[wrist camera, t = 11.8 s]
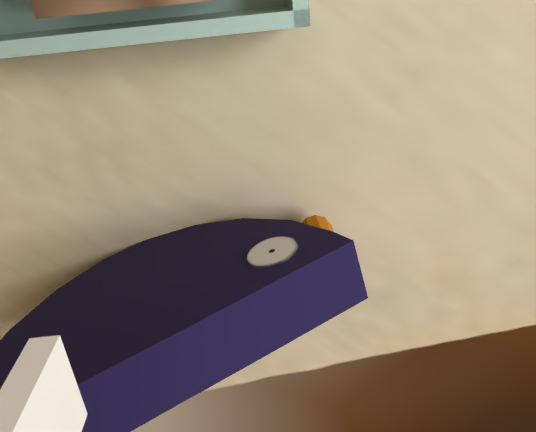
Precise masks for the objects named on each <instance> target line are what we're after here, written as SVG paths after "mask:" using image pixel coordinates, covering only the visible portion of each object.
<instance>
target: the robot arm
mask: <svg viewBox="0 0 536 432" xmlns="http://www.w3.org/2000/svg"><path fill="white" fill-rule="evenodd" d="M86 417H87V411H86V408H85V405H84V402H83V399H82V397H81V394H80V391H79V388H78V385H77V382H76V380H75V377H74V374H73V371H72V368H71V365H70V363H69V360H68V357H67V354H66V351H65V348H64V345H63V343H62V340H61V337H60V335H56V336H47V337H38V338H29V340H28V342H27V343H26V345H25V347H24V349H23V350H22V352H21V354H20V356H19V358H18V359H17V361H16V363H15V365H14V366H13V368H12V370H11V372H10V373H9V375H8V377H7V379H6V380H5V382H4V384H3V386H2V387H1V389H0V432H82V429H83V426H84V423H85V420H86Z"/></svg>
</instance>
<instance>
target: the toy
mask: <svg viewBox="0 0 536 432" xmlns="http://www.w3.org/2000/svg"><path fill="white" fill-rule="evenodd" d="M367 298H368V296H367V292H366V288H365V284H364V281H363V277H362V273H361V269H360V265H359V261H358V257H357V253H356V249H355V246H354V242H353V240H351V239H348V238H346V237H344V236H341V235H339V234H337V233H334V231H333V229H332V226H331V224H330V223H329V222H328V221H327V219H326V218H325V217H321V216H317V215H314V216H311V217H308V218H306V219H305V220H304V221H303V223H299V222H295V221H291V220H272V219H246V218H242V219H235V220H229V221H222V222H215V223H208V224H201V225H194V226H191V227H188V228H184V229H181V230H178V231H174V232H171V233H168V234H164V235H161V236H158V237H154V238H151V239H148V240H146V241H143V242H141V243H139V244H137V245H135V246H133V247H130V248H128V249H126V250H124V251H122V252H120V253H118V254H115V255H113V256H111V257H109V258H107V259H105V260H102V261H101V262H99V263H98V264H96V265H95V266H93V267H92V268H90V269H89V270H87V271H85V272H84V273H82V274H81V275H79V276H78V277H76V278H75V279H73V280H71V281H70V282H68V283H67V284H65V285H64V286H62V287H61V288H59V289H57V290H56V291H55V292H54V293H52V294H51V295H50V296H49V297H48V298H46V299H45V300H44V301H43V302H42V303H41V304H39V305H38V306H37V307H36V308H35V309H34V310H32V311H31V312H30V313H29V314H28V315H26V316H25V317H24V318H23V319H22V320H21V321H19V322H18V323H17V324H16V325H15V326H14V327H12V328H11V329H10V330H9V331H8V332H7V333H6V335H5V336H4V337H3V338H2V339H1V340H0V389H1V387H2V386H3V384H4V382H5V380H6V379H7V377H8V375H9V373H10V372H11V370H12V368H13V366H14V365H15V363H16V361H17V359H18V358H19V356H20V354H21V352H22V350H23V349H24V347H25V345H26V343H27V342H28V340H29V338H38V337H47V336H56V335H60V337H61V340H62V343H63V345H64V348H65V351H66V354H67V357H68V360H69V363H70V365H71V368H72V371H73V374H74V377H75V380H76V382H77V385H78V388H79V391H80V394H81V397H82V399H83V402H84V405H85V408H86V411H87V417H86V420H85V423H84V426H83V429H82V432H130V431H132V430H134V429H136V428H138V427H139V426H141V425H143V424H145V423H146V422H148V421H150V420H152V419H154V418H155V417H157V416H159V415H161V414H162V413H164V412H166V411H167V410H170V409H171V408H173V407H175V406H177V405H178V404H180V403H182V402H184V401H186V400H187V399H189V398H191V397H193V396H195V395H196V394H198V393H200V392H202V391H203V390H205V389H207V388H209V387H211V386H212V385H214V384H216V383H218V382H220V381H221V380H223V379H225V378H227V377H229V376H230V375H232V374H234V373H236V372H237V371H239V370H241V369H243V368H245V367H246V366H248V365H250V364H252V363H254V362H255V361H257V360H259V359H261V358H262V357H264V356H266V355H268V354H270V353H271V352H273V351H275V350H277V349H278V348H280V347H282V346H284V345H286V344H287V343H289V342H291V341H293V340H294V339H296V338H298V337H300V336H301V335H303V334H305V333H307V332H309V331H310V330H312V329H314V328H316V327H317V326H319V325H321V324H323V323H324V322H326V321H328V320H330V319H331V318H333V317H335V316H337V315H339V314H340V313H342V312H344V311H346V310H347V309H349V308H351V307H353V306H355V305H356V304H358V303H360V302H362V301H363V300H365V299H367Z"/></svg>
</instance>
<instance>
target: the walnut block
mask: <svg viewBox="0 0 536 432" xmlns="http://www.w3.org/2000/svg"><path fill="white" fill-rule="evenodd" d="M206 1H215V0H31V4H32V7H33V11H34V14H35V18H36V19H43V18H53V17H63V16H72V15H82V14H91V13H101V12H110V11H120V10H129V9H139V8H148V7H158V6H167V5H177V4H187V3H196V2H206Z"/></svg>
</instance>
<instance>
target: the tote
mask: <svg viewBox="0 0 536 432" xmlns="http://www.w3.org/2000/svg"><path fill="white" fill-rule="evenodd" d="M307 26H310V12H309V0H215V1H206V2H196V3H187V4H177V5H167V6H158V7H148V8H139V9H129V10H120V11H110V12H101V13H91V14H82V15H72V16H63V17H53V18H43V19H36V18H35V14H34V11H33V7H32V4H31V0H0V59H3V58H13V57H22V56H32V55H41V54H51V53H60V52H70V51H79V50H89V49H98V48H108V47H117V46H127V45H136V44H145V43H155V42H164V41H174V40H183V39H193V38H202V37H212V36H221V35H231V34H240V33H250V32H259V31H269V30H278V29H288V28H297V27H307Z"/></svg>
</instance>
